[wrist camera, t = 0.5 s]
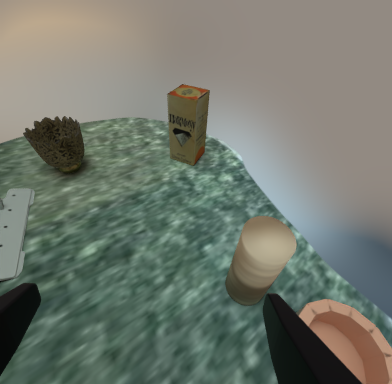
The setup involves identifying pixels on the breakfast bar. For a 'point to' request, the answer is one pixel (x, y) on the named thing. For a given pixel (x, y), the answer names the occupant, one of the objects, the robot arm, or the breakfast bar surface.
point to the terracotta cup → (351, 339)
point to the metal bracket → (13, 231)
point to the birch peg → (259, 258)
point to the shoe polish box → (187, 123)
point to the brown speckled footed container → (58, 143)
